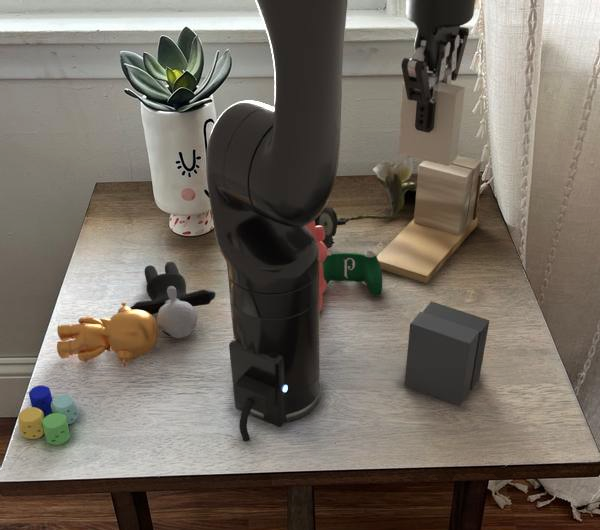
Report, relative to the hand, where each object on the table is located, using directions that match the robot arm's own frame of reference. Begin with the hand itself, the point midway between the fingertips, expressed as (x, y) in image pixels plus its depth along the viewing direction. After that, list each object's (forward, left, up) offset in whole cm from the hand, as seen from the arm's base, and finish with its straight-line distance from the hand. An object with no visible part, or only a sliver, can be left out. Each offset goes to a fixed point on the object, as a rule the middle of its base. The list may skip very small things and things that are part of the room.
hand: (429, 124), depth 101 cm
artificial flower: (+7, +11, -20) cm, 23 cm away
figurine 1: (-41, +28, -17) cm, 52 cm away
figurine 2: (-27, +22, -19) cm, 40 cm away
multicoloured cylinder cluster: (-47, +20, -18) cm, 54 cm away
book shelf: (+4, 0, -19) cm, 20 cm away
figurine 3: (-17, +7, -20) cm, 27 cm away
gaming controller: (-10, +5, -20) cm, 23 cm away
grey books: (-22, -14, -19) cm, 32 cm away
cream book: (0, 0, -4) cm, 4 cm away
